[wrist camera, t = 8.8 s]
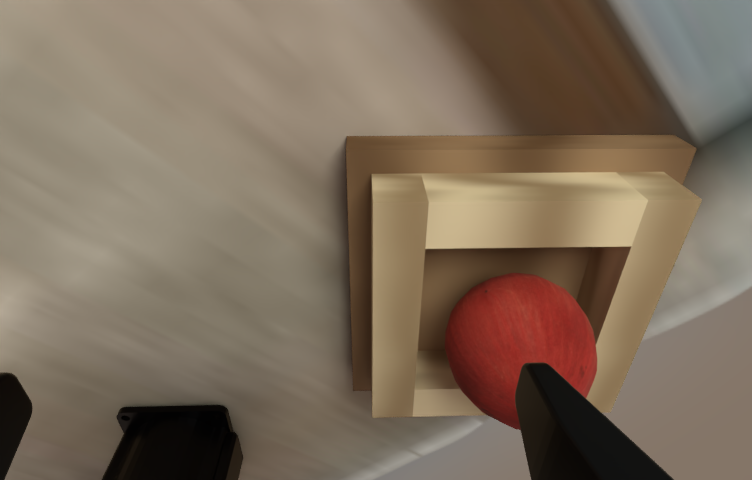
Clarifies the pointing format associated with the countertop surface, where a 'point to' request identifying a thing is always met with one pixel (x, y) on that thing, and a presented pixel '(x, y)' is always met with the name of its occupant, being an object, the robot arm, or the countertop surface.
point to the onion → (517, 340)
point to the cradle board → (481, 260)
